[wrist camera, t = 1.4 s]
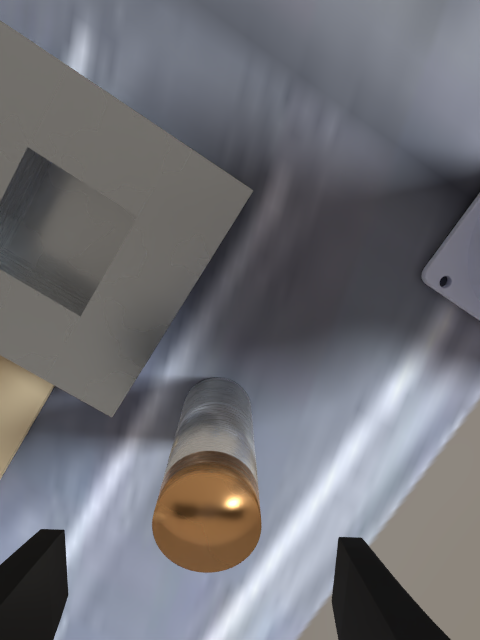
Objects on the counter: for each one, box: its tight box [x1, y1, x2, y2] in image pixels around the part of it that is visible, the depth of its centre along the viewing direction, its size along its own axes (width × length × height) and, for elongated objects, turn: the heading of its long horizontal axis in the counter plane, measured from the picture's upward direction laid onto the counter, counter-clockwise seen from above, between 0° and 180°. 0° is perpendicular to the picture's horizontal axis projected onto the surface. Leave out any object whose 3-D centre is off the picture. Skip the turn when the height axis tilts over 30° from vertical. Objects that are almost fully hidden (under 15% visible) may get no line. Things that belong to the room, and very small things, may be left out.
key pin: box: [152, 378, 261, 573], centre depth 17 cm, size 3×3×8 cm
